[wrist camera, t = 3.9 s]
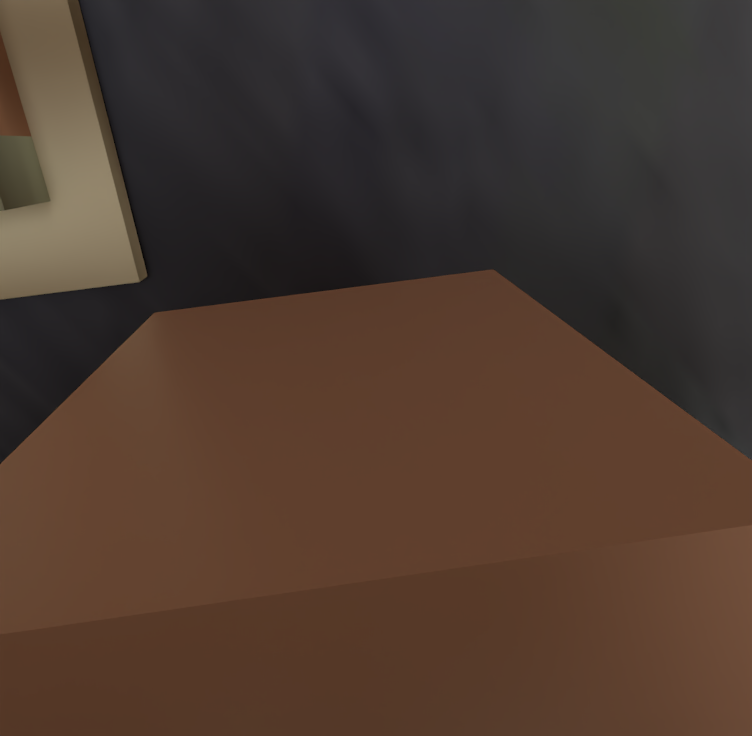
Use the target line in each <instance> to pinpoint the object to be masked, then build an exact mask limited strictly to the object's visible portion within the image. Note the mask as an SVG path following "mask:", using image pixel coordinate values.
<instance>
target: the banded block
mask: <svg viewBox="0 0 752 736" xmlns="http://www.w3.org/2000/svg"><path fill="white" fill-rule="evenodd" d="M0 736H752V460H750V459H749V458H748V457H746V456H745V455H743V454H742V453H741V452H739V451H738V450H737V449H735V448H734V447H733V446H731V445H730V444H729V443H727V442H726V441H725V440H723V439H722V438H720V437H719V436H718V435H716V434H715V433H714V432H712V431H711V430H710V429H708V428H707V427H706V426H704V425H703V424H702V423H700V422H699V421H698V420H696V419H695V418H693V417H692V416H691V415H689V414H688V413H687V412H685V411H684V410H683V409H681V408H680V407H679V406H677V405H676V404H675V403H673V402H672V401H671V400H669V399H668V398H666V397H665V396H664V395H662V394H661V393H660V392H658V391H657V390H656V389H654V388H653V387H652V386H650V385H649V384H648V383H646V382H645V381H644V380H642V379H641V378H639V377H638V376H637V375H635V374H634V373H633V372H631V371H630V370H629V369H627V368H626V367H625V366H623V365H622V364H621V363H619V362H618V361H617V360H615V359H614V358H612V357H611V356H610V355H608V354H607V353H606V352H604V351H603V350H602V349H600V348H599V347H598V346H596V345H595V344H594V343H592V342H591V341H590V340H588V339H587V338H585V337H584V336H583V335H581V334H580V333H579V332H577V331H576V330H575V329H573V328H572V327H571V326H569V325H568V324H567V323H565V322H564V321H563V320H561V319H560V318H558V317H557V316H556V315H554V314H553V313H552V312H550V311H549V310H548V309H546V308H545V307H544V306H542V305H541V304H540V303H538V302H537V301H535V300H534V299H533V298H531V297H530V296H529V295H527V294H526V293H525V292H523V291H522V290H521V289H519V288H518V287H517V286H515V285H514V284H513V283H511V282H510V281H508V280H507V279H506V278H504V277H503V276H502V275H500V274H499V273H498V272H496V271H495V270H494V269H492V270H484V271H476V272H468V273H461V274H453V275H445V276H437V277H429V278H421V279H414V280H406V281H398V282H390V283H382V284H375V285H367V286H359V287H351V288H343V289H335V290H328V291H320V292H312V293H304V294H296V295H288V296H281V297H273V298H265V299H257V300H249V301H242V302H234V303H226V304H218V305H210V306H202V307H195V308H187V309H179V310H171V311H163V312H156V313H154V314H153V315H152V316H151V317H150V318H148V319H147V320H146V321H145V322H144V323H143V324H142V325H141V326H140V327H139V328H138V329H137V330H136V331H135V332H134V333H133V334H132V335H131V336H130V337H129V338H128V339H127V340H126V341H125V342H124V343H123V344H122V345H121V346H120V347H119V348H118V349H117V350H116V351H115V352H114V353H113V354H112V355H111V356H110V357H109V358H108V359H107V360H106V361H105V362H104V363H103V364H102V365H101V366H100V367H99V368H98V369H97V370H96V371H95V372H94V373H93V374H91V375H90V376H89V377H88V378H87V379H86V380H85V381H84V382H83V383H82V384H81V385H80V386H79V387H78V388H77V389H76V390H75V391H74V392H73V393H72V394H71V395H70V396H69V397H68V398H67V399H66V400H65V401H64V402H63V403H62V404H61V405H60V406H59V407H58V408H57V409H56V410H55V411H54V412H53V413H52V414H51V415H50V416H49V417H48V418H47V419H46V420H45V421H44V422H43V423H42V424H41V425H40V426H39V427H38V428H37V429H36V430H34V431H33V432H32V433H31V434H30V435H29V436H28V437H27V438H26V439H25V440H24V441H23V442H22V443H21V444H20V445H19V446H18V447H17V448H16V449H15V450H14V451H13V452H12V453H11V454H10V455H9V456H8V457H7V458H6V459H5V460H4V461H3V462H2V463H1V464H0Z"/></svg>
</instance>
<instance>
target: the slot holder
mask: <svg viewBox="0 0 752 736" xmlns="http://www.w3.org/2000/svg"><path fill="white" fill-rule="evenodd" d="M146 277H147V272H146V268H145V264H144V260H143V256H142V252H141V248H140V244H139V240H138V236H137V232H136V228H135V224H134V220H133V216H132V212H131V208H130V204H129V200H128V196H127V192H126V188H125V184H124V180H123V176H122V172H121V168H120V164H119V160H118V156H117V152H116V148H115V144H114V140H113V136H112V133H111V129H110V125H109V121H108V117H107V113H106V109H105V105H104V101H103V97H102V93H101V89H100V85H99V81H98V77H97V73H96V69H95V65H94V61H93V57H92V53H91V49H90V45H89V41H88V37H87V33H86V29H85V25H84V21H83V17H82V13H81V9H80V5H79V1H78V0H0V299H8V298H16V297H24V296H32V295H40V294H48V293H56V292H64V291H72V290H80V289H88V288H96V287H104V286H112V285H120V284H128V283H136V282H140V281H142V280H143V279H144V278H146Z"/></svg>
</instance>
